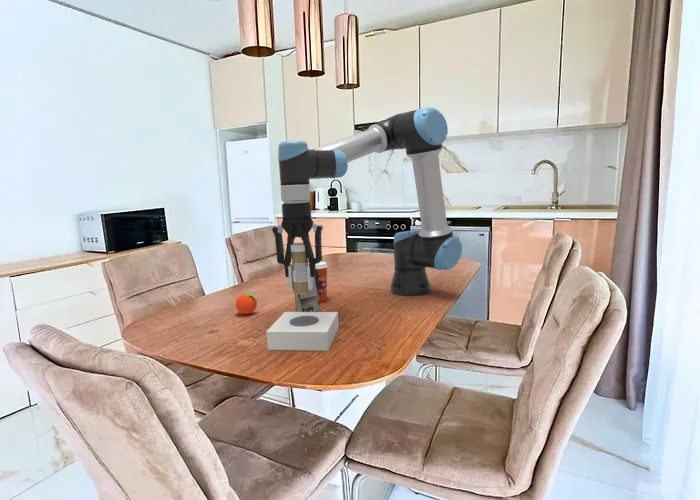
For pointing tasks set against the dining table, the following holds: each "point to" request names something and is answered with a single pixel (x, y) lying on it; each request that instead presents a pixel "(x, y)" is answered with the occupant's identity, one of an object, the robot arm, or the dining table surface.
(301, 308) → the coffee box
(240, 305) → the clementine
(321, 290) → the paper cup
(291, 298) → the dining table surface
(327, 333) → the plinth
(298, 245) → the sprinkles bottle
